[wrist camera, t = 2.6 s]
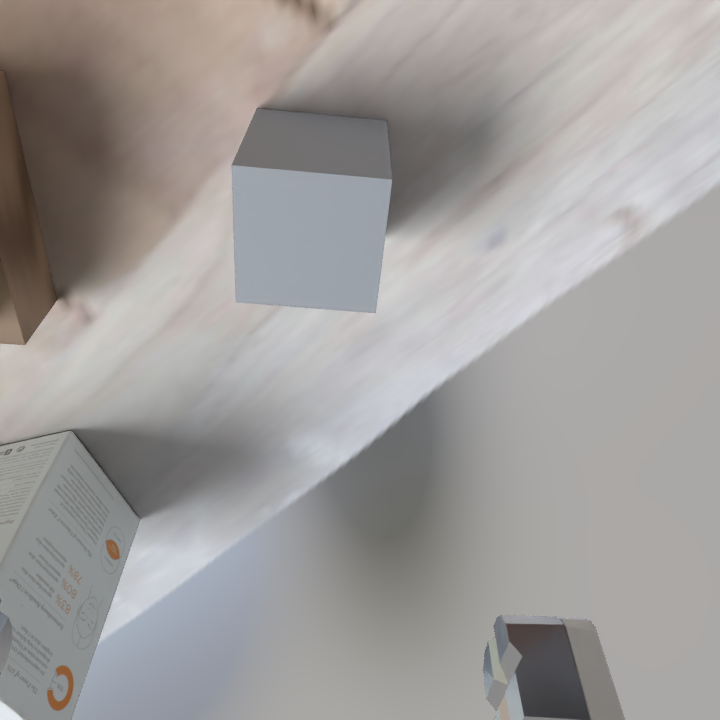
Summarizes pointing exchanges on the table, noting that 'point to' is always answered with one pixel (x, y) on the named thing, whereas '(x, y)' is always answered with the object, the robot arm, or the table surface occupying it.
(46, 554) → the small box
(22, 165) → the tower base
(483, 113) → the table surface
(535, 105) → the table surface
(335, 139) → the block
